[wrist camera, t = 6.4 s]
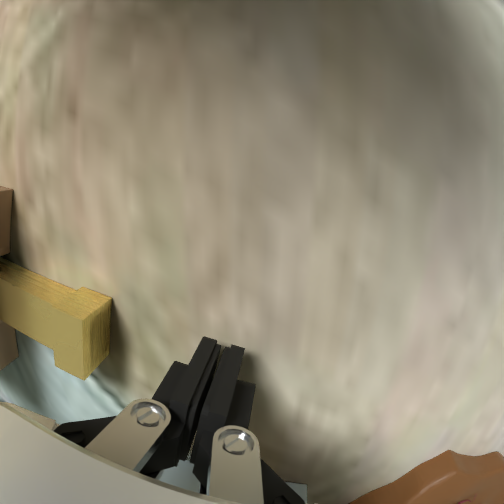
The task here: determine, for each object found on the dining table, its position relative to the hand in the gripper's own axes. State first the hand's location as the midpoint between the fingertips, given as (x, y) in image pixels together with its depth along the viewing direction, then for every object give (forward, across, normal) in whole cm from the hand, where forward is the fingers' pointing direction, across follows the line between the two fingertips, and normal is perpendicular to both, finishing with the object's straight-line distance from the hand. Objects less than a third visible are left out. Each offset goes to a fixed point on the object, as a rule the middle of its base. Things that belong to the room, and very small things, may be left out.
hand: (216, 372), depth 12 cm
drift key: (+1, +11, 0) cm, 11 cm away
